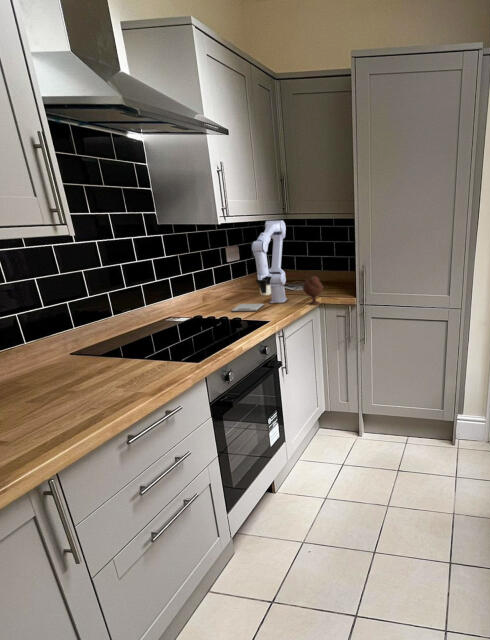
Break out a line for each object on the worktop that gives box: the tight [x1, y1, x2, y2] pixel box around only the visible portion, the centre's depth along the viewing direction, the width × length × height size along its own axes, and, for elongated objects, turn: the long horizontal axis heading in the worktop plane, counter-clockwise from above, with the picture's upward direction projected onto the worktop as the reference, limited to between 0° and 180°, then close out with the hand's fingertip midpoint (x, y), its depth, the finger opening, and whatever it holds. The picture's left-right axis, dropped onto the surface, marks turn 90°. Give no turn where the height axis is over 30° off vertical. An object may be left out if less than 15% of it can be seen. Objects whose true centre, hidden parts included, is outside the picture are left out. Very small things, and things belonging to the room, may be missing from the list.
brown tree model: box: [302, 275, 324, 306], centre depth 236 cm, size 11×11×15 cm
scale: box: [231, 303, 265, 313], centre depth 231 cm, size 14×13×1 cm
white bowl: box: [259, 284, 271, 296], centre depth 229 cm, size 6×6×5 cm
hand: (265, 291), depth 229 cm, fingers closed on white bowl, 5 cm apart
